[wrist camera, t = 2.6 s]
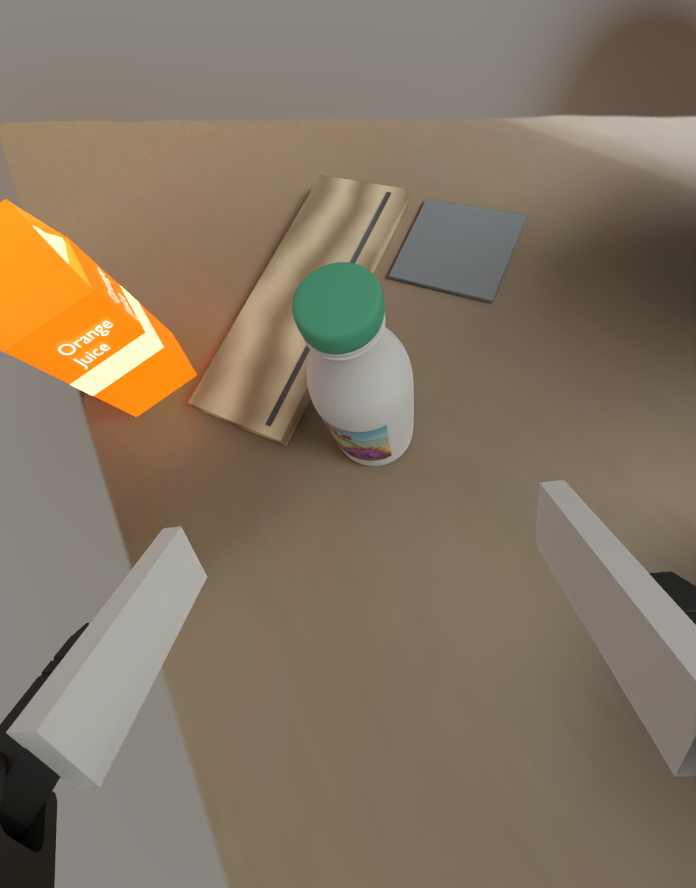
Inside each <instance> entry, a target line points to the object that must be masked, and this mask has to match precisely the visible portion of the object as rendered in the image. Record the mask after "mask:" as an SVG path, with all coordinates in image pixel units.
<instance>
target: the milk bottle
mask: <svg viewBox="0 0 696 888" xmlns="http://www.w3.org/2000/svg"><path fill="white" fill-rule="evenodd" d="M292 311H293V317H294V320H295V323H296V325H297V328H298V330H299V332H300V333H301V335H302V337H303V339H304V341H305V343H306V345H307V347H308V348H309V349H310V350H311V351H310V355H309V358H308V363H307V386H308V390H309V394H310V397H311V400H312V402H313V404H314V406H315V408H316V410H317V412H318V414H319V415H320V417H321V419H322V420H323V422H324V423H325V425H326V426H327V428H328V430H329V431H330V433H331V434H332V436H333V437H334V439H335V440H336V442H337V443H338V445H339V446H340V448H341V449H342V450H343V452H344V453H345V454H346V455H347V456H348V457H349V458H350V459H352V460H353V461H355V462H357V463H359V464H362V465H366V466H382V465H386V464H388V463H391V462H393V461H394V460H396V459H397V458H399V457H400V456H401V455H402V454H403V453H404V452H405V451H406V449H407V448H408V446H409V444H410V442H411V439H412V435H413V421H414V384H413V372H412V367H411V363H410V360H409V357H408V355H407V352H406V350H405V348H404V347H403V345H402V343H401V342H400V341H399V339H398V338H397V337H396V336H395V335H394V334H393V333H392V332H391V331H390V330H389V329H387V328H386V327H385V321H386V317H385V311H384V298H383V293H382V289H381V286H380V284H379V282H378V280H377V278H376V277H375V276H374V274H373V273H372V272H371V271H369V270H368V269H367V268H365V267H363V266H361V265H358V264H355V263H350V262H337V263H331V264H328V265H325V266H322V267H320V268H318V269H316V270H314V271H313V272H311V273H310V274H309V275H308V276H306V277H305V278H304V279H303V281H302V282H301V283H300V284H299V286H298V287H297V289H296V291H295V294H294V297H293V302H292Z"/></svg>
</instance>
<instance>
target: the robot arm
mask: <svg viewBox="0 0 696 888" xmlns="http://www.w3.org/2000/svg"><path fill="white" fill-rule="evenodd" d="M535 544H536V546H537V548H538V549H539V551H540V553H541V554H542V556H543V558H544V559H545V561H546V563H547V564H548V566H549V568H550V569H551V571H552V573H553V574H554V576H555V578H556V579H557V581H558V583H559V584H560V586H561V588H562V589H563V591H564V593H565V594H566V596H567V598H568V599H569V601H570V603H571V604H572V606H573V608H574V609H575V611H576V613H577V614H578V616H579V618H580V619H581V621H582V623H583V624H584V626H585V628H586V629H587V631H588V633H589V634H590V636H591V638H592V639H593V641H594V643H595V644H596V646H597V648H598V650H599V651H600V653H601V655H602V656H603V658H604V660H605V661H606V663H607V665H608V666H609V668H610V670H611V671H612V673H613V675H614V676H615V678H616V680H617V681H618V683H619V685H620V686H621V688H622V690H623V691H624V693H625V695H626V696H627V698H628V700H629V701H630V703H631V705H632V706H633V708H634V710H635V711H636V713H637V715H638V716H639V718H640V720H641V721H642V723H643V725H644V726H645V728H646V730H647V731H648V733H649V735H650V736H651V738H652V740H653V741H654V743H655V745H656V746H657V748H658V750H659V751H660V753H661V755H662V756H663V758H664V760H665V761H666V763H667V765H668V766H669V768H670V770H671V771H672V773H673V775H674V776H675V777H694V776H696V586H694V585H692V584H691V583H689V582H688V581H686V580H684V579H683V578H681V577H679V576H678V575H676V574H674V573H673V572H660V573H648V572H647V571H646V570H645V569H644V568H643V566H642V565H641V564H640V563H639V562H638V561H637V560H636V559H635V558H634V557H633V555H632V554H631V553H630V552H629V551H628V550H627V549H626V548H625V547H624V546H623V544H622V543H621V542H620V541H619V540H618V539H617V538H616V537H615V536H614V535H613V533H612V532H611V531H610V530H609V529H608V528H607V527H606V526H605V525H604V524H603V522H602V521H601V520H600V519H599V518H598V517H597V516H596V515H595V514H594V513H593V511H592V510H591V509H590V508H589V507H588V506H587V505H586V504H585V503H584V502H583V500H582V499H581V498H580V497H579V496H578V495H577V494H576V493H575V492H574V491H573V489H572V488H571V487H570V486H569V485H568V484H567V483H566V482H565V481H564V480H559V481H551V482H542V483H540V486H539V500H538V514H537V528H536V542H535ZM206 578H207V576H206V574H205V572H204V570H203V568H202V566H201V564H200V562H199V560H198V558H197V556H196V554H195V552H194V550H193V548H192V546H191V545H190V543H189V541H188V539H187V537H186V535H185V533H184V531H183V529H182V527H181V526H180V527H172V528H164V529H162V531H161V532H160V533H159V534H158V536H157V537H156V538H155V540H154V541H153V542H152V544H151V545H150V546H149V547H148V549H147V550H146V551H145V553H144V554H143V555H142V556H141V558H140V559H139V560H138V562H137V563H136V564H135V566H134V567H133V568H132V569H131V571H130V572H129V573H128V575H127V576H126V577H125V579H124V580H123V581H122V583H121V584H120V585H119V586H118V588H117V589H116V590H115V592H114V593H113V594H112V595H111V597H110V598H109V599H108V601H107V602H106V603H105V605H104V606H103V607H102V608H101V610H100V611H99V612H98V614H97V615H96V616H95V618H94V619H93V620H92V621H91V623H86V624H85V625H84V626H83V627H82V628H80V629H79V630H78V631H77V632H76V633H75V634H74V635H72V636H71V637H70V638H69V639H68V640H67V642H66V643H65V644H64V645H63V646H62V648H61V649H60V650H59V652H58V653H57V654H56V655H55V656H54V660H53V661H51V662H50V663H49V664H48V665H47V667H46V668H45V669H44V670H43V672H42V675H41V676H39V677H38V678H37V679H36V681H35V682H34V683H33V684H32V686H31V687H30V688H29V690H27V692H26V693H25V694H24V695H23V697H22V698H21V699H20V700H19V702H18V703H17V704H16V706H15V707H14V708H13V709H12V711H11V712H10V713H9V714H8V716H7V717H6V718H5V719H4V721H3V722H2V723H1V725H0V888H54V880H55V849H56V820H57V799H56V794H55V793H54V792H53V791H52V790H53V788H54V787H55V785H56V783H57V781H58V780H59V778H61V779H62V780H64V781H65V782H66V783H67V784H69V785H70V786H71V787H72V788H100V786H101V784H102V782H103V780H104V778H105V776H106V775H107V773H108V771H109V769H110V767H111V765H112V763H113V761H114V759H115V757H116V755H117V753H118V751H119V749H120V747H121V745H122V743H123V741H124V739H125V737H126V735H127V733H128V731H129V729H130V727H131V726H132V724H133V722H134V720H135V718H136V716H137V713H138V712H139V710H140V708H141V706H142V704H143V702H144V700H145V698H146V696H147V694H148V692H149V690H150V688H151V686H152V684H153V682H154V680H155V678H156V676H157V675H158V673H159V671H160V669H161V667H162V665H163V663H164V661H165V659H166V657H167V655H168V653H169V651H170V649H171V647H172V645H173V643H174V641H175V639H176V637H177V635H178V633H179V631H180V629H181V627H182V626H183V624H184V622H185V620H186V618H187V616H188V614H189V612H190V610H191V608H192V606H193V604H194V602H195V600H196V598H197V596H198V594H199V592H200V590H201V588H202V586H203V584H204V582H205V580H206Z"/></svg>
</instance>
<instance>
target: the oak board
mask: <svg viewBox="0 0 696 888" xmlns="http://www.w3.org/2000/svg"><path fill="white" fill-rule="evenodd" d="M407 206H408V189H402V188H396V187H390V186H384V185H378V184H372V183H366V182H360V181H354V180H348V179H342V178H336V177H330V176H324V175H320V176H319V178H318V180H317V181H316V183H315V185H314V187H313V188H312V190H311V192H310V193H309V195H308V197H307V199H306V200H305V202H304V204H303V205H302V207H301V209H300V211H299V212H298V214H297V216H296V217H295V219H294V221H293V223H292V224H291V226H290V228H289V229H288V231H287V233H286V235H285V236H284V238H283V240H282V241H281V243H280V245H279V247H278V248H277V250H276V252H275V254H274V255H273V257H272V259H271V260H270V262H269V264H268V266H267V267H266V269H265V271H264V272H263V274H262V276H261V278H260V279H259V281H258V283H257V284H256V286H255V288H254V290H253V291H252V293H251V295H250V296H249V298H248V300H247V302H246V303H245V305H244V307H243V308H242V310H241V312H240V314H239V315H238V317H237V319H236V320H235V322H234V324H233V326H232V327H231V329H230V331H229V332H228V334H227V336H226V338H225V339H224V341H223V343H222V344H221V346H220V348H219V350H218V351H217V353H216V355H215V356H214V358H213V360H212V362H211V363H210V365H209V367H208V368H207V370H206V372H205V374H204V375H203V377H202V379H201V381H200V382H199V384H198V386H197V387H196V389H195V391H194V393H193V394H192V396H191V398H190V399H189V401H188V403H189V404H190V405H192V406H193V407H195V408H196V409H198V410H200V411H202V412H204V413H207V414H209V415H212V416H214V417H216V418H219V419H221V420H224V421H226V422H228V423H231V424H233V425H235V426H238V427H240V428H243V429H245V430H247V431H250V432H252V433H255V434H257V435H259V436H262V437H264V438H267V439H269V440H271V441H274V442H276V443H278V444H281V445H283V446H286V447H287V445H288V443H289V441H290V439H291V437H292V435H293V433H294V431H295V429H296V427H297V425H298V423H299V421H300V419H301V417H302V415H303V413H304V411H305V409H306V407H307V405H308V403H309V401H310V399H311V397H310V394H309V390H308V386H307V363H308V358H309V355H310V351H311V350H310V349H309V348H308V347H307V345H306V343H305V341H304V339H303V337H302V335H301V333H300V332H299V330H298V328H297V325H296V323H295V320H294V317H293V311H292V302H293V297H294V294H295V291H296V289H297V287H298V286H299V284H300V283H301V282H302V281H303V279H304V278H305V277H306V276H308V275H309V274H310V273H311V272H313V271H314V270H316V269H318V268H320V267H322V266H325V265H328V264H331V263H337V262H350V263H355V264H358V265H361V266H363V267H365V268H367V269H368V270H369V271H371V272H372V273H373V274H374V272H375V270H376V268H377V266H378V264H379V262H380V260H381V258H382V256H383V254H384V252H385V250H386V248H387V246H388V244H389V242H390V240H391V238H392V236H393V234H394V232H395V230H396V228H397V226H398V224H399V222H400V220H401V218H402V216H403V214H404V212H405V210H406V208H407Z"/></svg>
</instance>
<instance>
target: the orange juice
mask: <svg viewBox="0 0 696 888" xmlns="http://www.w3.org/2000/svg"><path fill="white" fill-rule="evenodd" d="M0 350H1V351H3V352H5V353H8V354H9V355H12V356H14V357H16V358H18V359H20V360H22V361H24V362H26V363H28V364H30V365H32V366H34V367H36V368H38V369H40V370H42V371H44V372H46V373H48V374H50V375H52V376H54V377H56V378H58V379H60V380H62V381H64V382H66V383H68V384H70V385H71V386H73V387H75V388H77V389H79V390H81V391H83V392H85V393H87V394H89V395H91V396H95V397H97V398H99V399H101V400H103V401H105V402H107V403H109V404H111V405H113V406H115V407H117V408H119V409H121V410H123V411H125V412H127V413H129V414H131V415H133V416H135V417H137V416H139V415H140V414H142V413H143V412H145V411H146V410H147V409H149V408H150V407H152V406H153V405H155V404H156V403H158V402H159V401H160V400H162V399H163V398H165V397H166V396H168V395H169V394H170V393H172V392H173V391H175V390H176V389H178V388H179V387H181V386H182V385H183V384H185V383H186V382H188V381H189V380H191V379H192V378H194V377H195V376H196V375H197V374H196V372H195V371H194V369H193V367H192V366H191V364H190V362H189V361H188V359H187V357H186V356H185V354H184V352H183V350H182V349H181V347H180V345H179V344H178V342H177V340H176V339H175V337H174V335H173V334H172V333H171V332H170V331H169V330H168V329H167V328H166V327H165V326H163V325H162V324H161V323H160V322H159V321H158V320H157V319H156V318H155V317H154V316H153V315H151V314H150V313H149V312H148V311H147V310H146V309H145V308H144V307H143V306H142V305H141V304H139V302H138V301H137V300H136V299H135V298H134V297H132V296H131V295H130V294H129V293H128V292H127V291H126V290H125V289H124V288H123V287H122V286H121V285H119V284H118V283H117V282H115V281H114V280H113V279H112V278H111V277H110V276H109V275H108V274H107V273H106V272H105V271H103V270H102V269H101V268H100V267H99V266H98V265H97V264H96V263H95V262H94V261H93V260H91V259H90V258H89V257H88V256H87V255H86V254H85V253H84V252H83V251H82V250H81V249H80V248H78V247H77V246H76V245H75V244H74V243H73V242H72V241H71V240H70V239H69V238H68V237H66V236H63V235H61V234H60V233H58V232H57V231H55V230H53V229H52V228H50V227H49V226H47V225H45V224H44V223H42V222H41V221H39V220H38V219H36V218H34V217H33V216H31V215H30V214H28V213H26V212H25V211H23V210H22V209H20V208H18V207H17V206H15V205H13V204H12V203H11V202H9V201H8V200H7V199H5V200H4V201H2V202H1V203H0Z"/></svg>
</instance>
